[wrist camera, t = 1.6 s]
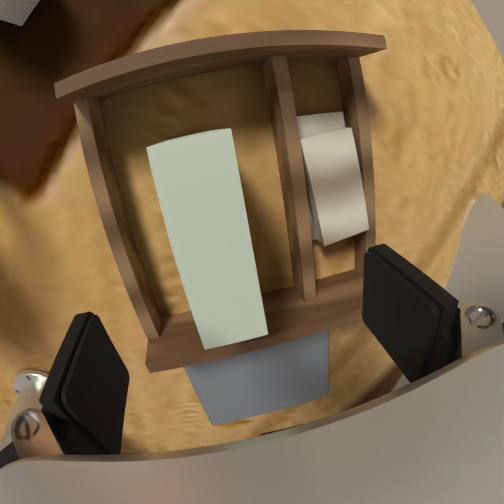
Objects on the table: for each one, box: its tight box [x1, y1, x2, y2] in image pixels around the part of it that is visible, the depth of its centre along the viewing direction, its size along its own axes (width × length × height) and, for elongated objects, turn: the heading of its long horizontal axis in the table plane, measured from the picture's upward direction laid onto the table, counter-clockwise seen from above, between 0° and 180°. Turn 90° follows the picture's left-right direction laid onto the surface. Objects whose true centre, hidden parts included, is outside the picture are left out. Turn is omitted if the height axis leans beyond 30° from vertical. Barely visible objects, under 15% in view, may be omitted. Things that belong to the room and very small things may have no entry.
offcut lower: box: [297, 112, 345, 240], centre depth 28 cm, size 12×5×2 cm, turn 11°
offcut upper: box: [300, 127, 369, 246], centre depth 27 cm, size 10×5×2 cm, turn 17°
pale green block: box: [146, 128, 268, 350], centre depth 21 cm, size 12×4×13 cm, turn 10°
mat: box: [184, 330, 329, 425], centre depth 37 cm, size 18×18×1 cm
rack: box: [54, 30, 387, 373], centre depth 24 cm, size 25×25×7 cm
